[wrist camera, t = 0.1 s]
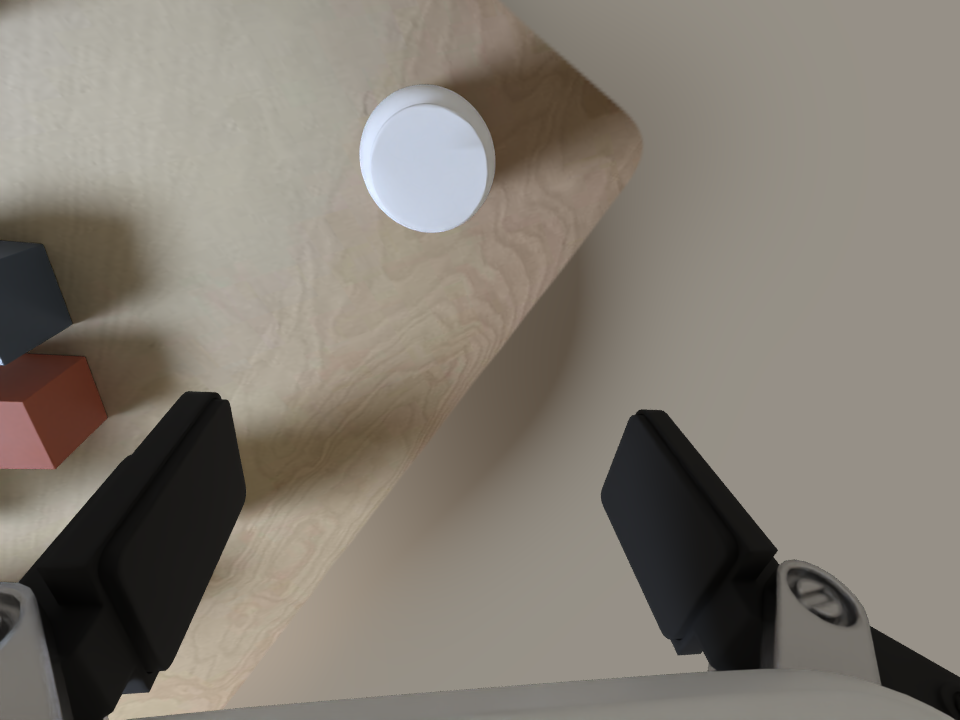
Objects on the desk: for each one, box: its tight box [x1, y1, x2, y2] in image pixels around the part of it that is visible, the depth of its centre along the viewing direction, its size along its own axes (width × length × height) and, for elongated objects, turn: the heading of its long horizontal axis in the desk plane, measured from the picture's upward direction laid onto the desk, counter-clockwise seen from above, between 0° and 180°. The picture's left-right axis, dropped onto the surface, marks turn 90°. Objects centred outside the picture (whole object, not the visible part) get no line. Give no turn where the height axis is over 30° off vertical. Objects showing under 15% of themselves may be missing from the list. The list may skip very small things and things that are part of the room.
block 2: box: [0, 354, 108, 469], centre depth 28 cm, size 6×6×6 cm
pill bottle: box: [360, 84, 495, 233], centre depth 21 cm, size 6×6×11 cm
